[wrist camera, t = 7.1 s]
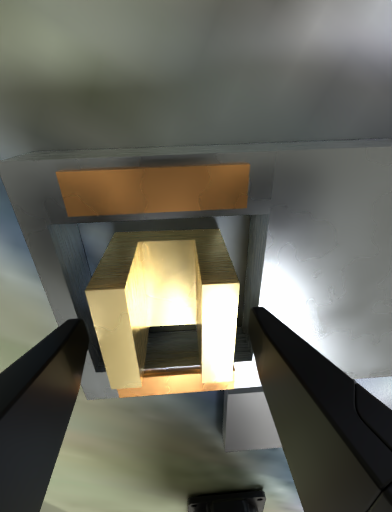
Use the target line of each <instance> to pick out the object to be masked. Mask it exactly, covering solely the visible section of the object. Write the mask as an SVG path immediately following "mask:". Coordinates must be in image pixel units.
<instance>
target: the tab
mask: <svg viewBox="0 0 392 512" xmlns="http://www.w3.org/2000/svg"><path fill="white" fill-rule="evenodd" d="M353 380H354V379H353ZM354 381H355V380H354ZM355 383H356V381H355ZM222 436H223V443H224V450H225V452H234V451H246V450H257V449H268V448H280V447H282V445H281V442H280V439H279V436H278V433H277V430H276V427H275V424H274V421H273V418H272V415H271V412H270V409H269V406H268V403H267V401H266V398H265V395H264V392H263V389H262V386H259V387H246V388H234V389H226V390H224V408H223V433H222Z"/></svg>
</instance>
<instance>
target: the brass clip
mask: <svg viewBox="0 0 392 512" xmlns="http://www.w3.org/2000/svg"><path fill="white" fill-rule="evenodd" d="M239 288H240V282H239V280H238V277H237V274H236V272H235V269H234V266H233V264H232V261H231V259H230V256H229V253H228V251H227V248H226V245H225V243H224V240H223V238H222V235H221V232H220V230H219V229H195V230H166V231H138V232H115V233H114V235H113V237H112V239H111V241H110V243H109V245H108V247H107V249H106V251H105V253H104V255H103V257H102V258H101V260H100V262H99V264H98V266H97V268H96V270H95V272H94V274H93V276H92V278H91V280H90V282H89V284H88V286H87V287H86V289H85V294H86V297H87V301H88V305H89V308H90V312H91V316H92V320H93V323H94V327H95V331H96V334H97V338H98V342H99V346H100V349H101V353H102V357H103V360H104V364H105V368H106V372H107V375H108V379H109V383H110V387H111V389H123V388H138V387H142V382H143V374H144V366H145V358H146V350H147V342H148V334H149V326H167V325H184V324H196V327H197V337H198V348H199V358H200V368H201V378H202V383H209V382H223V381H231V380H232V369H233V357H234V346H235V334H236V323H237V311H238V300H239Z"/></svg>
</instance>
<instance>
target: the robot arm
mask: <svg viewBox="0 0 392 512" xmlns="http://www.w3.org/2000/svg"><path fill="white" fill-rule="evenodd" d="M248 329H249V335H250V340H251V345H252V349H253V354H254V358H255V363H256V368H257V372H258V376H259V379H260V383H261V386H262V389H263V392H264V395H265V398H266V401H267V403H268V406H269V409H270V412H271V415H272V418H273V421H274V424H275V427H276V430H277V433H278V436H279V439H280V442H281V445H282V448H283V451H284V454H285V457H286V459H287V462H288V465H289V468H290V471H291V474H292V477H293V480H294V483H295V486H296V489H297V492H298V495H299V498H300V501H301V504H302V507H303V510H304V512H392V410H391V409H390V408H388V407H387V406H386V405H385V404H383V403H382V402H381V401H379V400H378V399H377V398H376V397H374V396H373V395H372V394H370V393H369V392H368V391H367V390H366V389H364V388H363V387H362V386H361V385H359V384H358V383H355V381H354V380H353V379H352V378H351V377H349V376H348V375H347V374H346V373H344V372H343V371H342V370H341V369H340V368H338V367H337V366H336V365H335V364H333V363H332V362H331V361H330V360H328V359H327V358H326V357H325V356H324V355H322V354H321V353H320V352H319V351H317V350H316V349H315V348H314V347H312V346H311V345H310V344H309V343H308V342H306V341H305V340H304V339H303V338H301V337H300V336H299V335H298V334H296V333H295V332H294V331H293V330H292V329H290V328H289V327H288V326H287V325H285V324H284V323H283V322H282V321H281V320H279V319H278V318H277V317H276V316H274V315H273V314H272V313H271V312H269V311H268V310H267V309H266V308H264V307H262V306H259V307H252V308H251V309H250V313H249V324H248ZM88 346H89V335H88V332H87V329H86V326H85V323H84V320H83V319H81V318H74V319H68V320H67V321H65V322H64V323H63V324H62V325H60V326H59V327H58V328H57V329H55V330H54V331H53V332H52V333H50V334H49V335H48V336H47V337H45V338H44V339H43V340H42V341H40V342H39V343H38V344H37V345H35V346H34V347H33V348H31V349H30V350H29V351H28V352H26V353H25V354H24V355H23V356H21V357H20V358H19V359H18V360H16V361H15V362H14V363H13V364H11V365H10V366H9V367H8V368H6V369H5V370H4V371H3V372H1V373H0V512H40V509H41V506H42V503H43V500H44V497H45V494H46V491H47V488H48V485H49V481H50V478H51V475H52V472H53V469H54V466H55V463H56V460H57V457H58V454H59V451H60V448H61V445H62V442H63V438H64V435H65V432H66V429H67V426H68V423H69V420H70V417H71V414H72V411H73V408H74V405H75V402H76V399H77V395H78V392H79V388H80V384H81V379H82V375H83V370H84V365H85V360H86V355H87V351H88ZM265 501H266V497H265V493H264V491H252V492H241V493H231V494H220V495H210V496H199V497H191V498H189V499H188V512H263V509H264V505H265Z"/></svg>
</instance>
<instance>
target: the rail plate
mask: <svg viewBox="0 0 392 512" xmlns="http://www.w3.org/2000/svg"><path fill="white" fill-rule="evenodd" d="M0 176H1V179H2V181H3V184H4V186H5V189H6V191H7V194H8V197H9V199H10V202H11V204H12V207H13V210H14V212H15V215H16V217H17V220H18V222H19V225H20V228H21V230H22V233H23V235H24V238H25V241H26V243H27V246H28V248H29V251H30V254H31V256H32V259H33V261H34V264H35V266H36V269H37V272H38V274H39V277H40V279H41V282H42V285H43V287H44V290H45V292H46V295H47V298H48V300H49V303H50V305H51V308H52V310H53V313H54V316H55V318H56V321H57V323H58V326H60V325H62V324H63V323H64V322H65V321H67V320H68V319H74V318H81V319H83V320H84V323H85V326H86V329H87V332H88V335H89V346H88V351H87V355H86V360H85V365H84V370H83V375H82V379H81V385H82V388H83V391H84V393H85V396H86V398H87V400H92V399H105V398H118V397H119V398H124V397H136V396H149V395H162V394H175V393H188V392H201V391H213V390H226V389H234V388H246V387H259V386H261V383H260V379H259V376H258V372H257V368H256V363H255V358H254V354H253V349H252V345H251V340H250V335H249V329H248V324H249V313H250V309H251V308H252V307H259V306H262V307H264V308H266V309H267V310H268V311H269V312H271V313H272V314H273V315H274V316H276V317H277V318H278V319H279V320H281V321H282V322H283V323H284V324H285V325H287V326H288V327H289V328H290V329H292V330H293V331H294V332H295V333H296V334H298V335H299V336H300V337H301V338H303V339H304V340H305V341H306V342H308V343H309V344H310V345H311V346H312V347H314V348H315V349H316V350H317V351H319V352H320V353H321V354H322V355H324V356H325V357H326V358H327V359H328V360H330V361H331V362H332V363H333V364H335V365H336V366H337V367H338V368H340V369H341V370H342V371H343V372H344V373H346V374H347V375H348V376H349V377H351V378H352V379H362V378H375V377H388V376H392V138H385V139H358V140H332V141H305V142H278V143H251V144H225V145H198V146H171V147H144V148H117V149H91V150H64V151H37V152H30V153H26V154H23V155H19V156H15V157H11V158H8V159H4V160H0ZM235 215H251V219H250V232H249V245H248V257H247V270H246V283H245V295H244V308H243V320H242V327H236V334H235V346H234V357H233V369H232V380H231V381H223V382H209V383H202V378H201V368H200V358H199V348H198V337H197V330H188V331H173V332H158V333H149V334H148V342H147V350H146V358H145V366H144V374H143V382H142V387H138V388H123V389H111V387H110V383H109V379H108V375H107V372H106V368H105V364H104V360H103V357H102V353H101V349H100V346H99V342H98V338H97V334H96V331H95V327H94V323H93V320H92V316H91V312H90V308H89V305H88V301H87V297H86V294H85V289H86V287H87V286H88V284H89V282H90V280H91V278H92V277H91V274H90V270H89V266H88V263H87V259H86V255H85V251H84V248H83V244H82V240H81V237H80V233H79V229H78V225H77V223H93V222H113V221H134V220H154V219H174V218H195V217H215V216H235Z"/></svg>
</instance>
